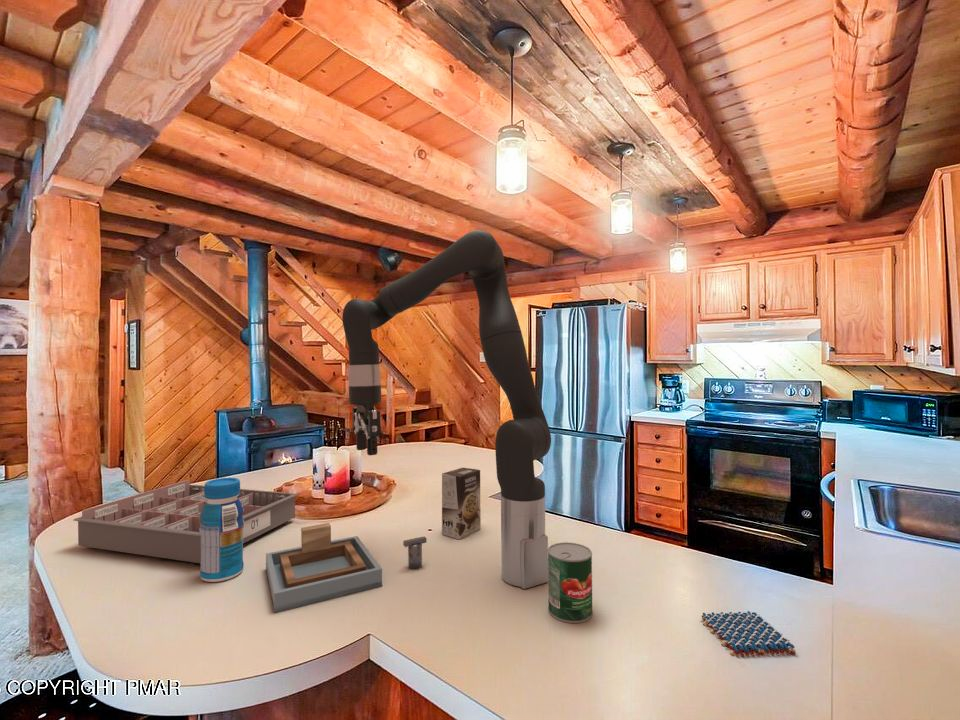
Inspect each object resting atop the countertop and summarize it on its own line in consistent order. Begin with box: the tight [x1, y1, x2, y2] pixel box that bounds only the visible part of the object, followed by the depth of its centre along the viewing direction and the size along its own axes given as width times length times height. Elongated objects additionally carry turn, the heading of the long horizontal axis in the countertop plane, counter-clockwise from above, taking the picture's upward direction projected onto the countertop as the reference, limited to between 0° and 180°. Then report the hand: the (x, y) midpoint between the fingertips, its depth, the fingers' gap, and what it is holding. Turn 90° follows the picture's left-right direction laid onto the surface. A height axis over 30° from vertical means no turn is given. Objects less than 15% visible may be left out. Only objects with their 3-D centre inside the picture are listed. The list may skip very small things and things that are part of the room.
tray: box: [265, 535, 383, 614], centre depth 98 cm, size 20×20×4 cm
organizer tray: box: [72, 479, 299, 564], centre depth 122 cm, size 32×40×10 cm
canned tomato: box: [547, 541, 594, 624], centre depth 84 cm, size 8×8×11 cm
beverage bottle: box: [199, 477, 244, 583], centre depth 100 cm, size 8×8×20 cm
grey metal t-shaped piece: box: [402, 536, 428, 570], centre depth 103 cm, size 3×5×6 cm, turn 119°
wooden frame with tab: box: [280, 522, 367, 589], centre depth 98 cm, size 15×15×8 cm
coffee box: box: [441, 467, 482, 540], centre depth 123 cm, size 9×6×16 cm
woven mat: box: [699, 610, 797, 657], centre depth 76 cm, size 10×11×2 cm
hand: (366, 452), depth 110 cm, fingers open, 8 cm apart
